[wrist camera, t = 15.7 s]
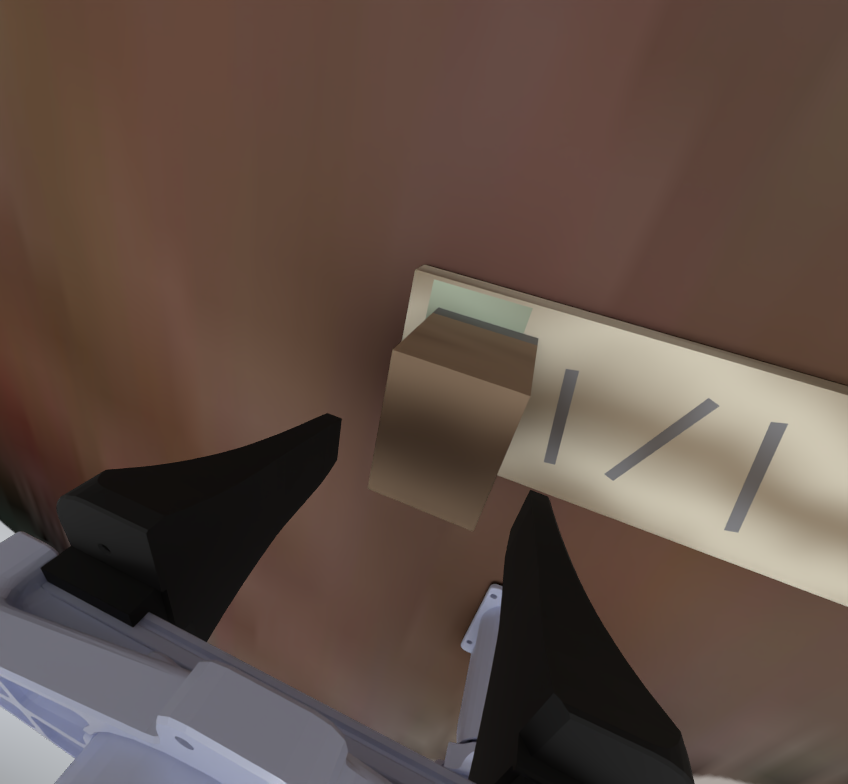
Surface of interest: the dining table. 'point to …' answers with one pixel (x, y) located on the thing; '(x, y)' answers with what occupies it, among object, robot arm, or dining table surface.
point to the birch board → (673, 435)
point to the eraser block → (451, 414)
